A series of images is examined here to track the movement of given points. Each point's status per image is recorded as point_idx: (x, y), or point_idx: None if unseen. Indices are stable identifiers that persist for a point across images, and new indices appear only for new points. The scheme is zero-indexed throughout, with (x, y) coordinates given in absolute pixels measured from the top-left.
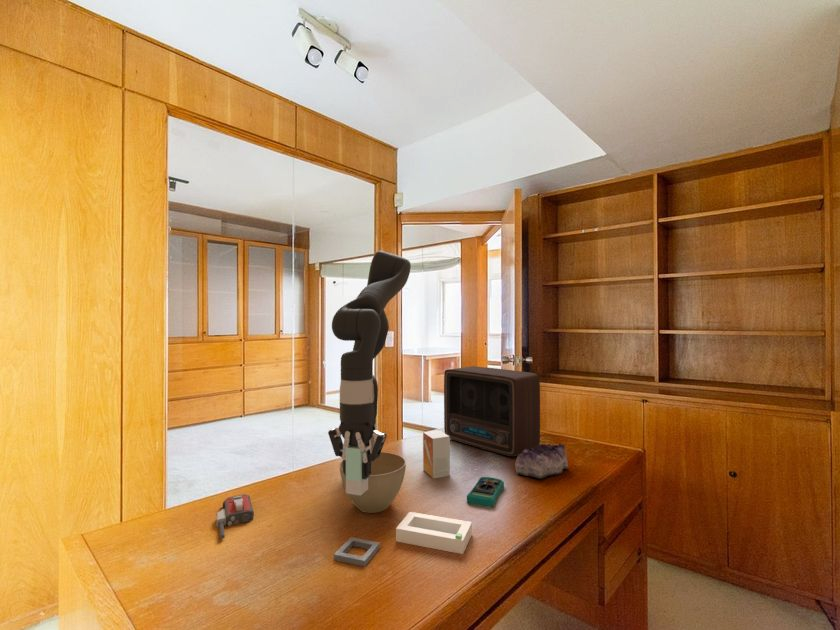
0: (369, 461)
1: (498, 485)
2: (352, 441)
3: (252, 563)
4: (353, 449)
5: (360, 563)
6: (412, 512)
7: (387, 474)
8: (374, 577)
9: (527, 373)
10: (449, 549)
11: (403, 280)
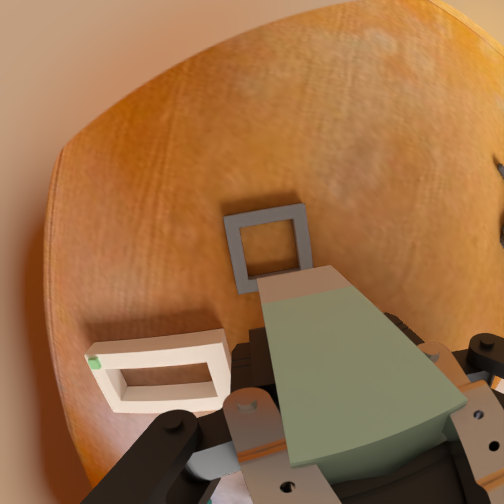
0: (219, 411)
1: None
2: (433, 489)
3: (423, 125)
4: (380, 428)
5: (234, 214)
6: None
7: None
8: (182, 196)
9: None
10: (113, 342)
11: None
